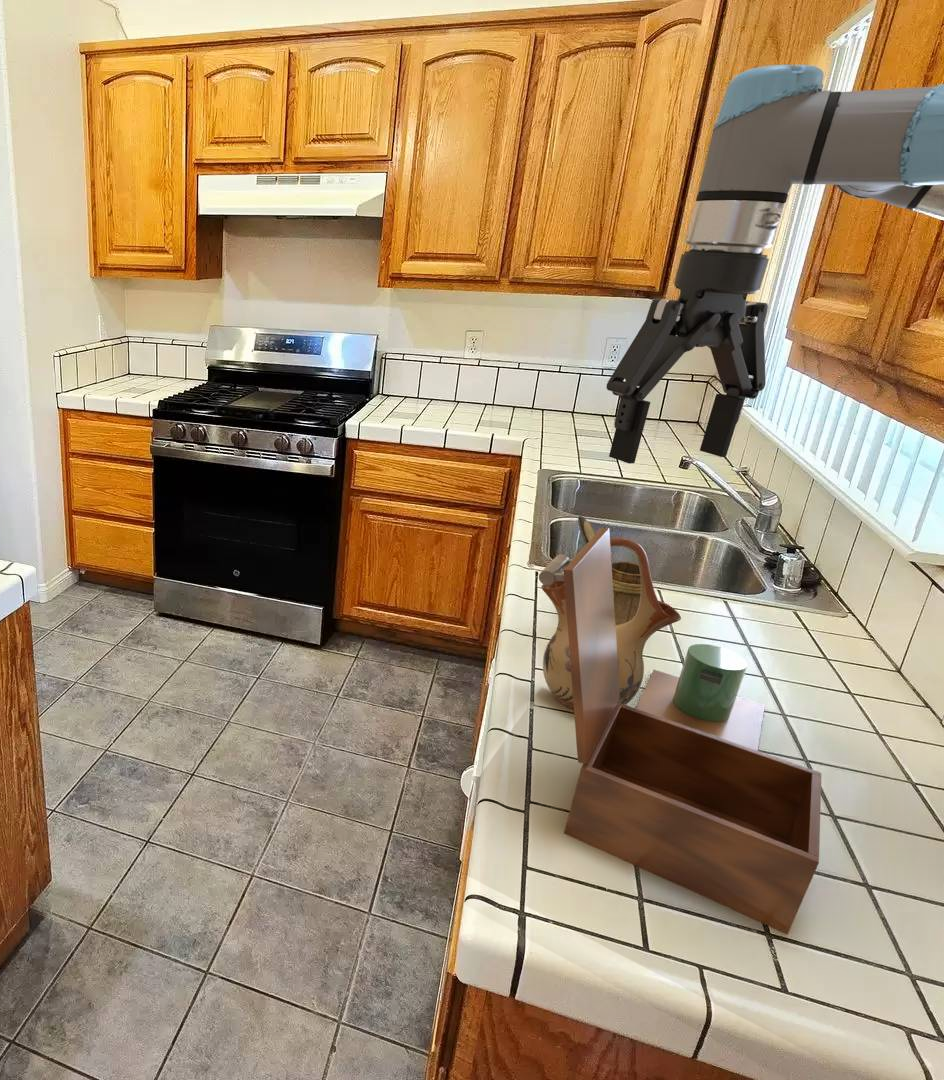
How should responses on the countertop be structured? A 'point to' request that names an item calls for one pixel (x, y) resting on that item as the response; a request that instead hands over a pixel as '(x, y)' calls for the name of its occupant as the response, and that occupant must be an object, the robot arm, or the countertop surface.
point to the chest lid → (589, 636)
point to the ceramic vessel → (627, 635)
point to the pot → (709, 682)
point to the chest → (701, 814)
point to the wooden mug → (619, 581)
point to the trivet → (736, 729)
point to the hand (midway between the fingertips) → (668, 457)
